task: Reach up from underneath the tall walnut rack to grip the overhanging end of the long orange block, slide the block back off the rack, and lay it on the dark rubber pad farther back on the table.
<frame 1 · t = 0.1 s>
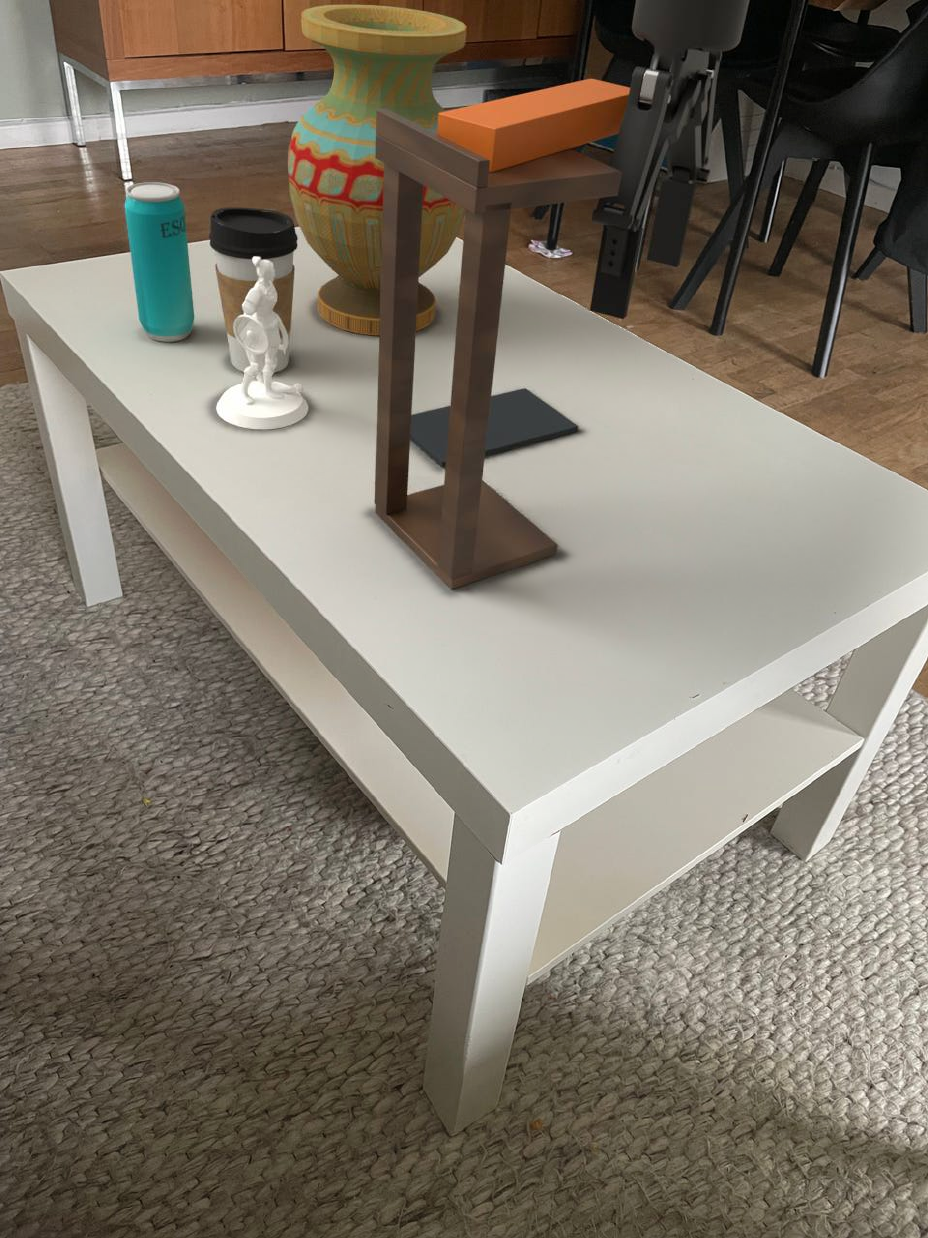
hand: (637, 286, 81), 18 cm above the table, tool pointing down, fingers open, 13 cm apart
walnut rack: (514, 518, 87), on the table
figurine: (262, 409, 98), on the table
vase: (376, 313, 118), on the table
beverage can: (168, 334, 109), on the table
orange block: (543, 141, 68), point 30 cm above the table, touching walnut rack
rubber pad: (486, 427, 99), on the table
coffee cup: (260, 363, 106), on the table
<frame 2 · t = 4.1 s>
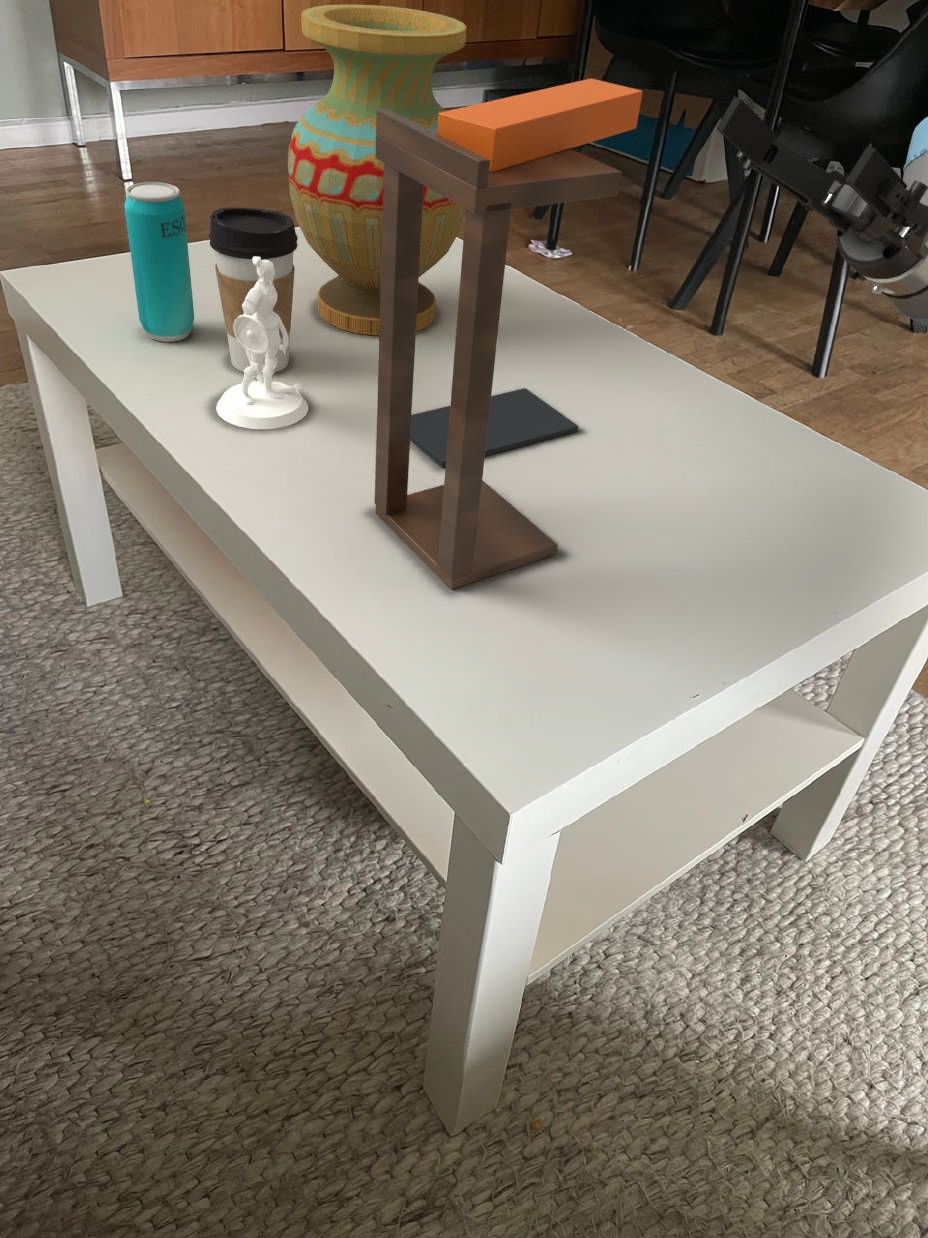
hand: (790, 137, 78), 29 cm above the table, tool pointing upward, fingers open, 13 cm apart
nothing on the table moved.
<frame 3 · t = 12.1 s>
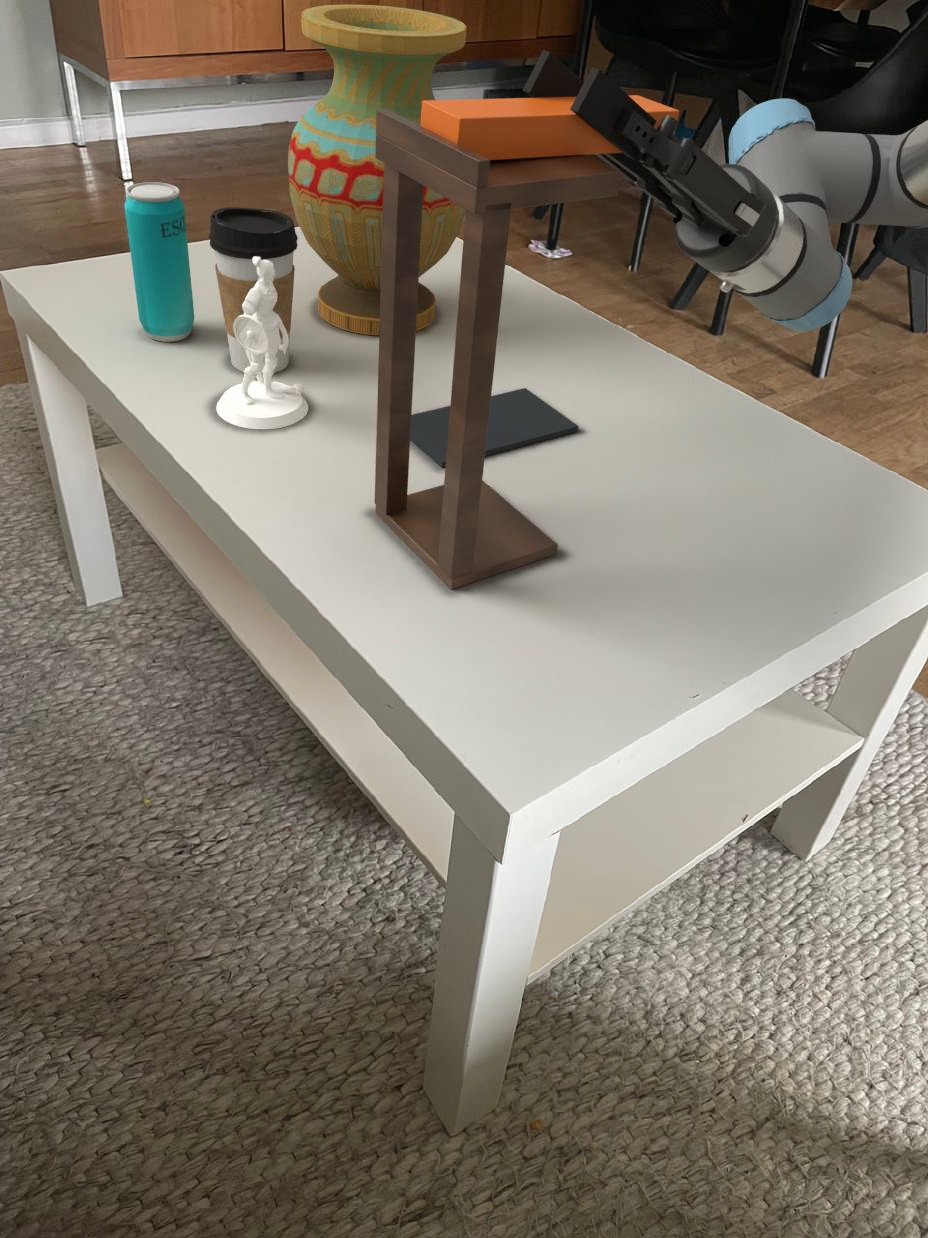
hand: (560, 80, 65), 34 cm above the table, tool pointing upward, fingers closed on orange block, 4 cm apart
orange block: (550, 146, 67), point 30 cm above the table, touching gripper, walnut rack
everything else where it was.
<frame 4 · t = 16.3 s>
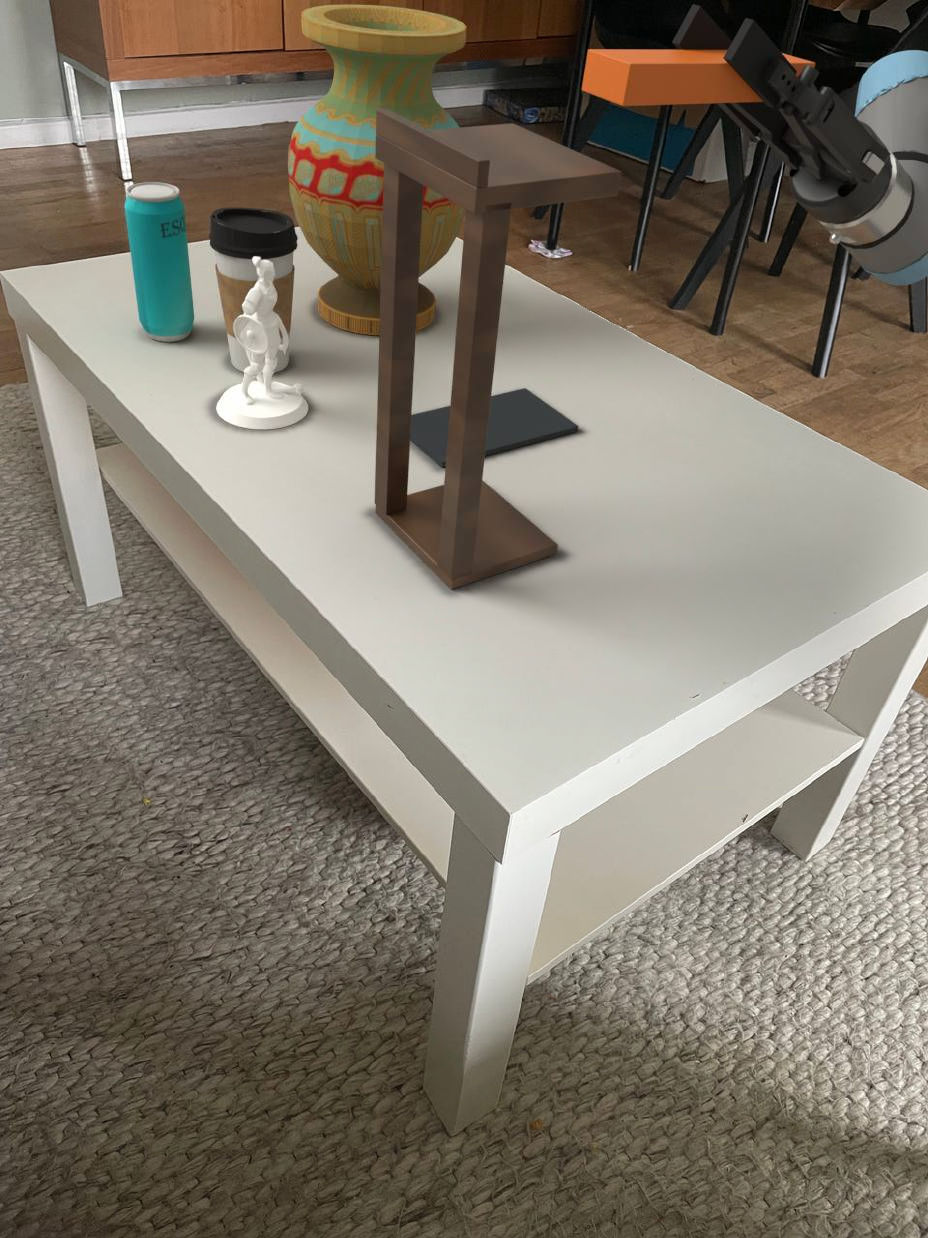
hand: (712, 31, 69), 36 cm above the table, tool pointing upward, fingers closed on orange block, 4 cm apart
orange block: (697, 95, 71), point 33 cm above the table, touching gripper
everything else where it was.
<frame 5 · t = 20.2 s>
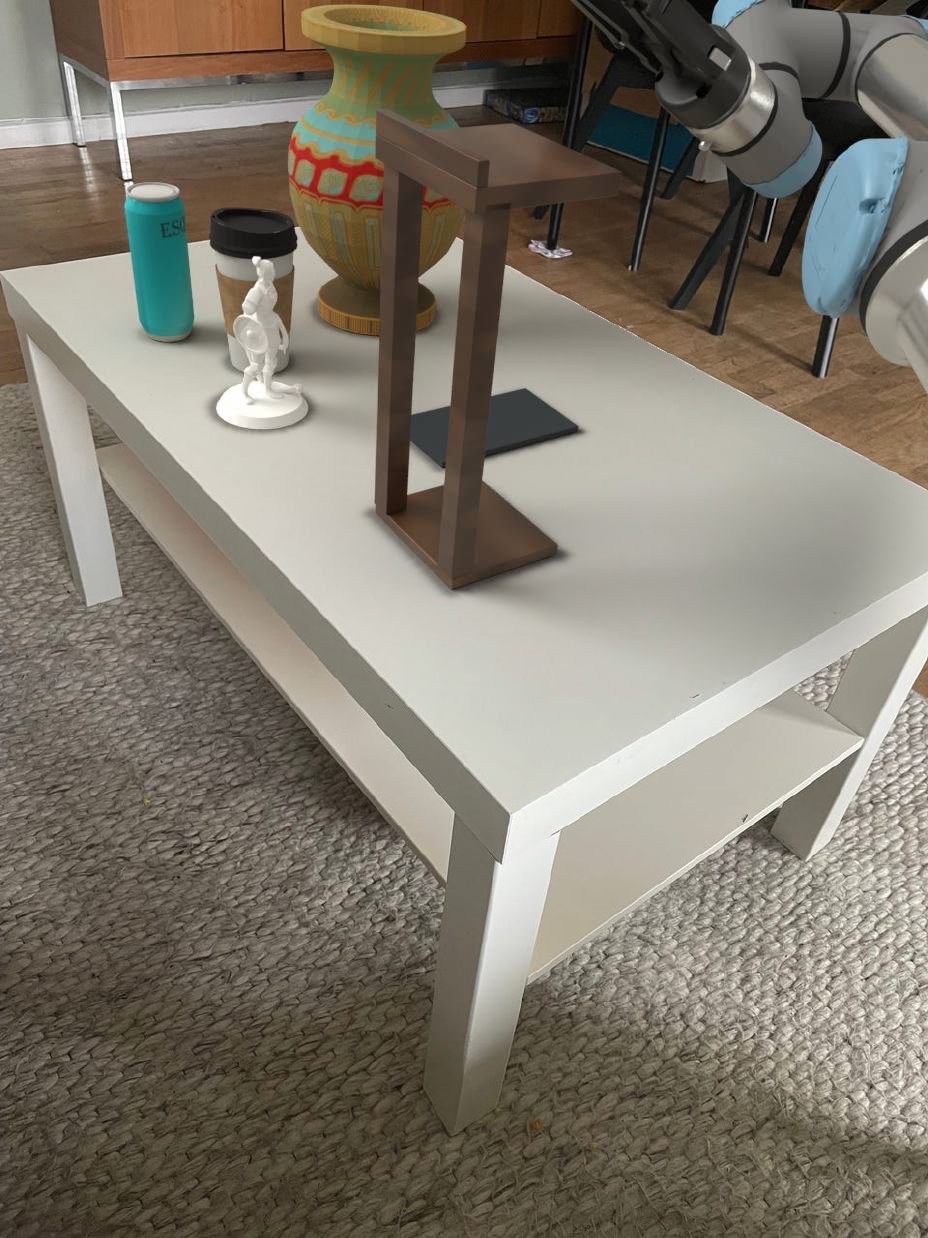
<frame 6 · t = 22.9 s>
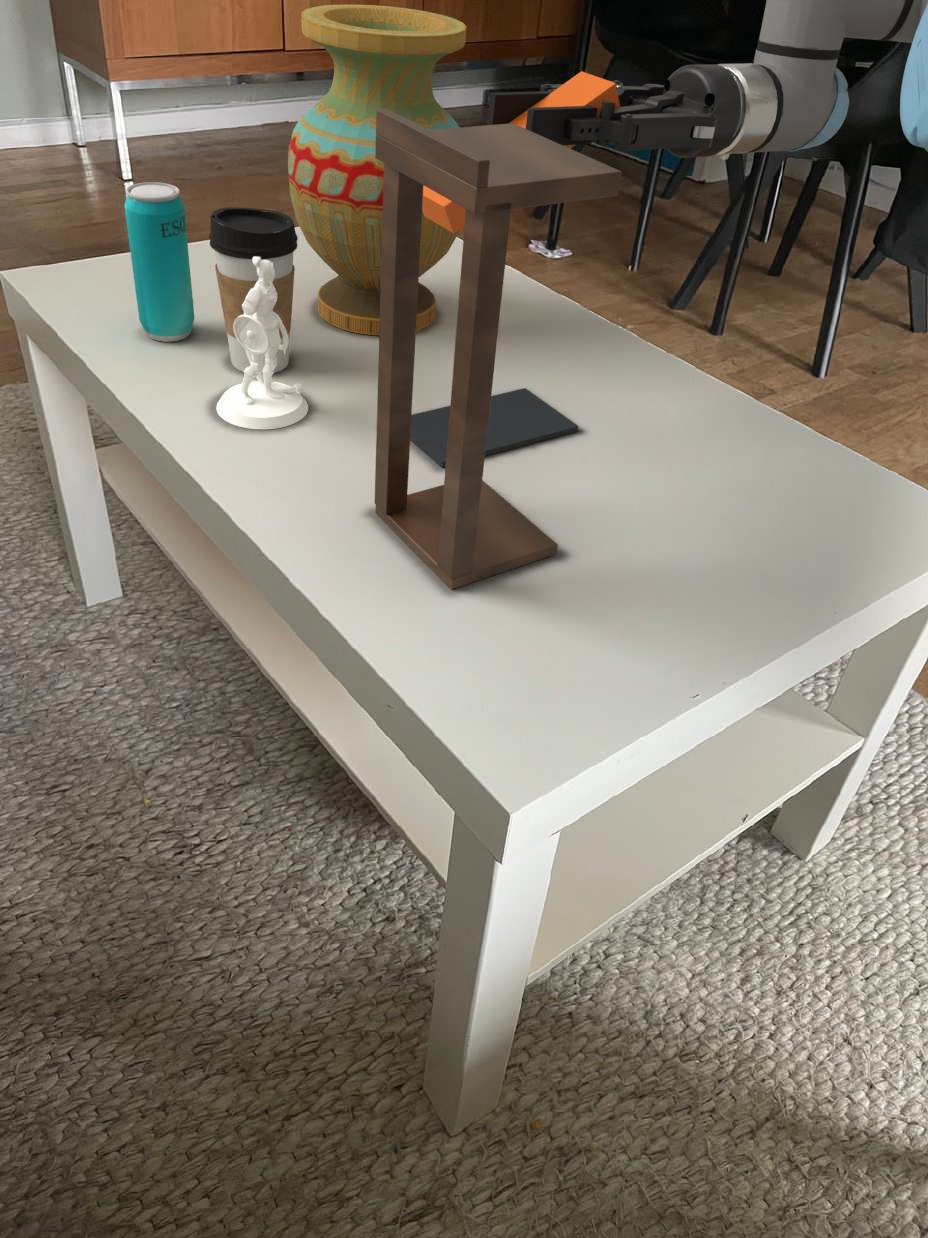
hand: (510, 119, 80), 28 cm above the table, tool horizontal, fingers closed on orange block, 4 cm apart
orange block: (522, 164, 83), point 24 cm above the table, tilted 27°, touching gripper
everything else where it was.
when the fingers open (8 cm above the table, at t = 28.7 s): orange block drops 4 cm, resting on rubber pad.
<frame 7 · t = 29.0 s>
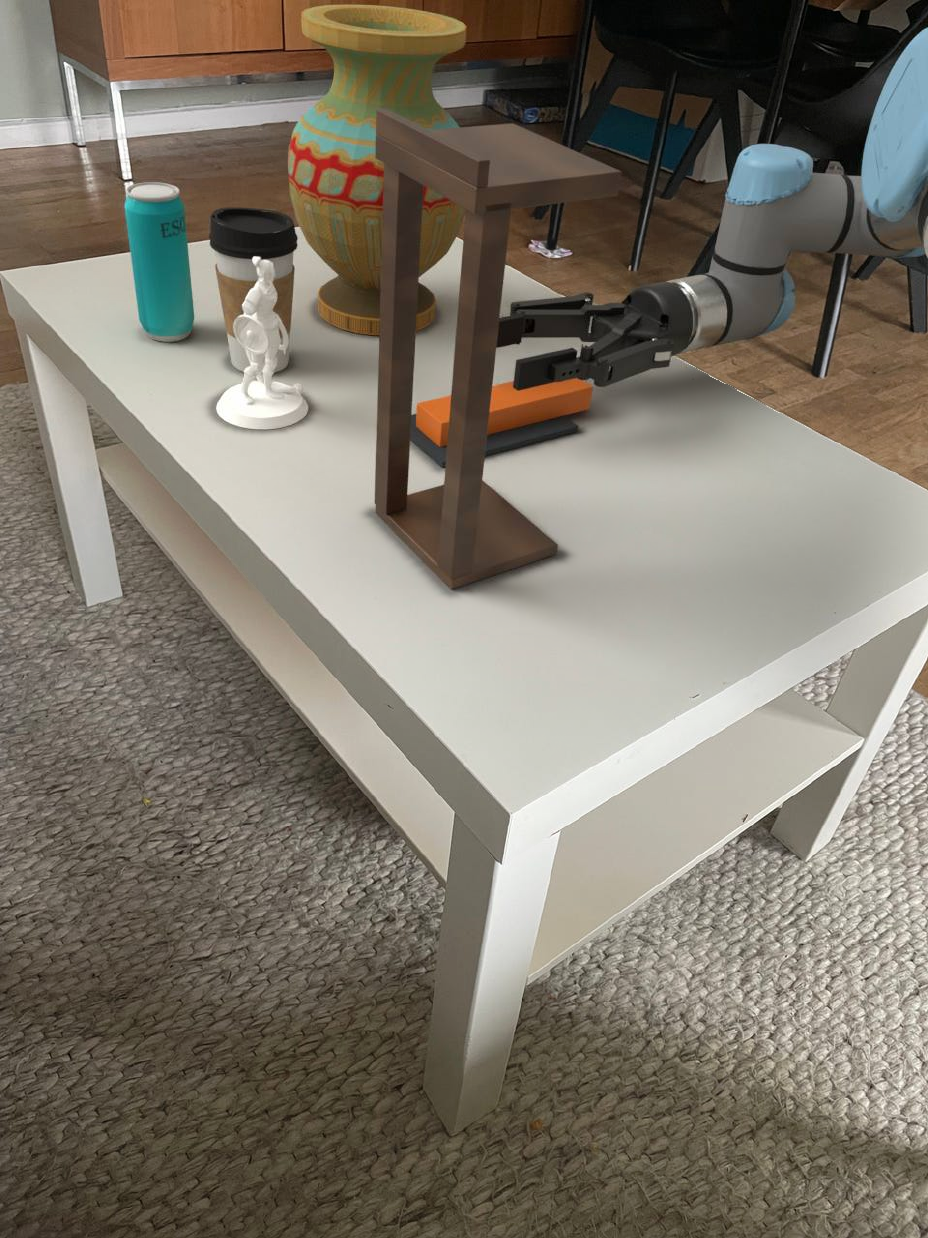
hand: (491, 356, 94), 8 cm above the table, tool horizontal, fingers open, 8 cm apart
orange block: (504, 417, 99), point 1 cm above the table, touching rubber pad
everything else where it was.
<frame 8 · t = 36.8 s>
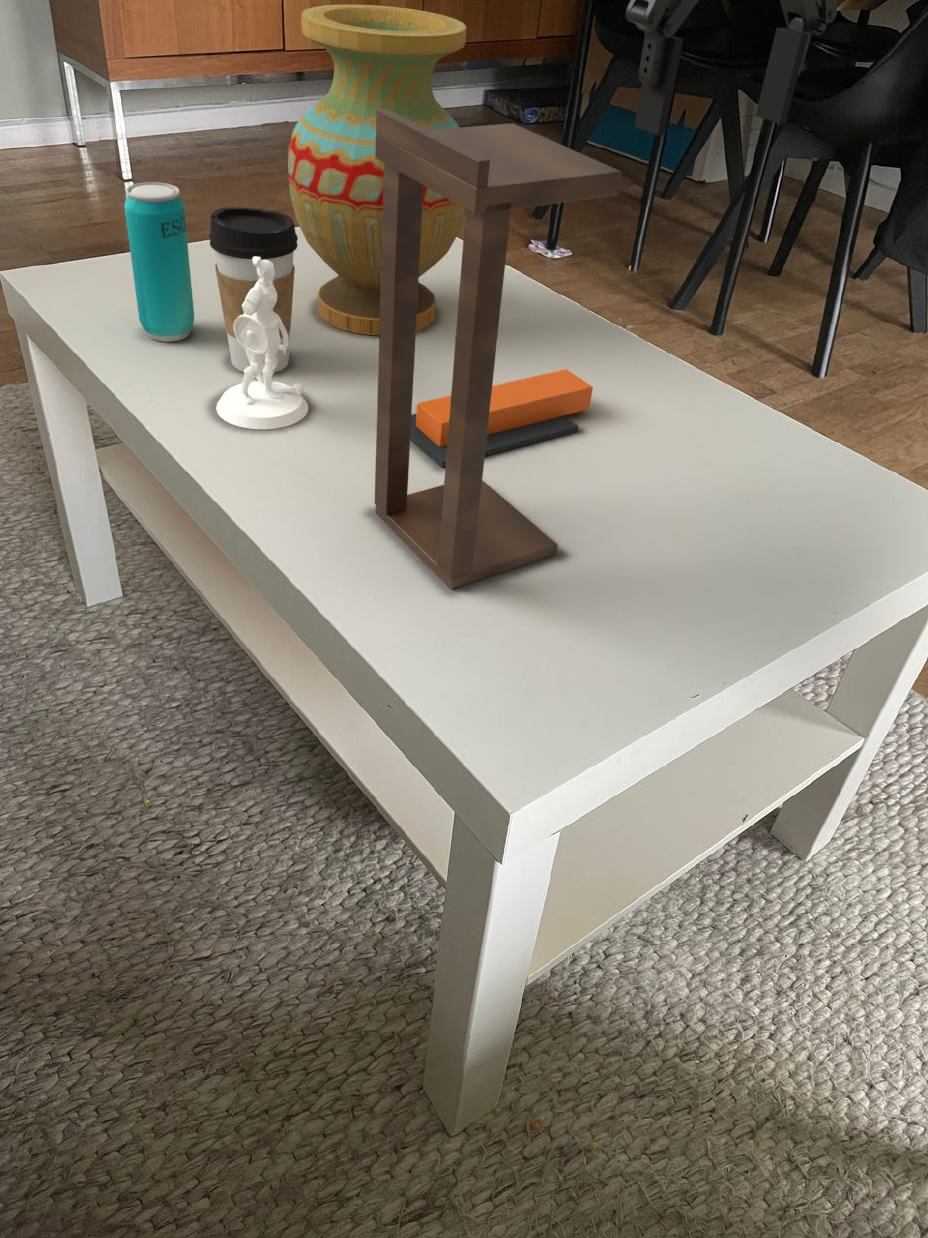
hand: (712, 125, 81), 29 cm above the table, tool pointing down, fingers open, 13 cm apart
nothing on the table moved.
at the end: orange block inside the target area on the rubber pad (2.3 cm from its centre), point 0.6 cm above the rubber pad's base; orange block touching rubber pad; the gripper is holding nothing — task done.
